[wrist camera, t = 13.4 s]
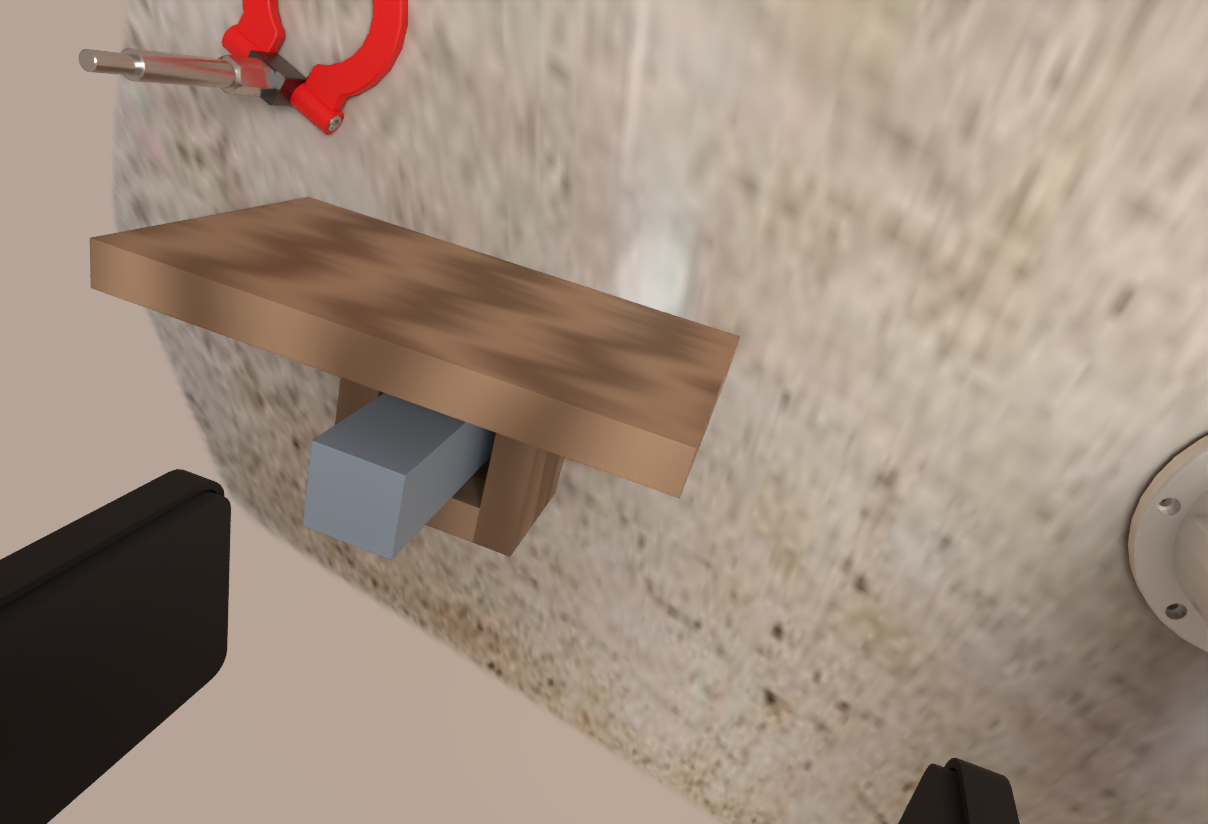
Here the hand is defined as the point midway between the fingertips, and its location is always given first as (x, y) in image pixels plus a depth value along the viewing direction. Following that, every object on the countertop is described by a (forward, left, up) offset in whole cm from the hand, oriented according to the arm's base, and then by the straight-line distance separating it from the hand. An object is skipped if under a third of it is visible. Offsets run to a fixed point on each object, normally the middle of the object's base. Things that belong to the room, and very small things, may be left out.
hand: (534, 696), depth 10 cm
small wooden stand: (+11, +11, -31) cm, 35 cm away
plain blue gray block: (+11, +11, -29) cm, 33 cm away
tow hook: (+23, -5, -31) cm, 39 cm away
